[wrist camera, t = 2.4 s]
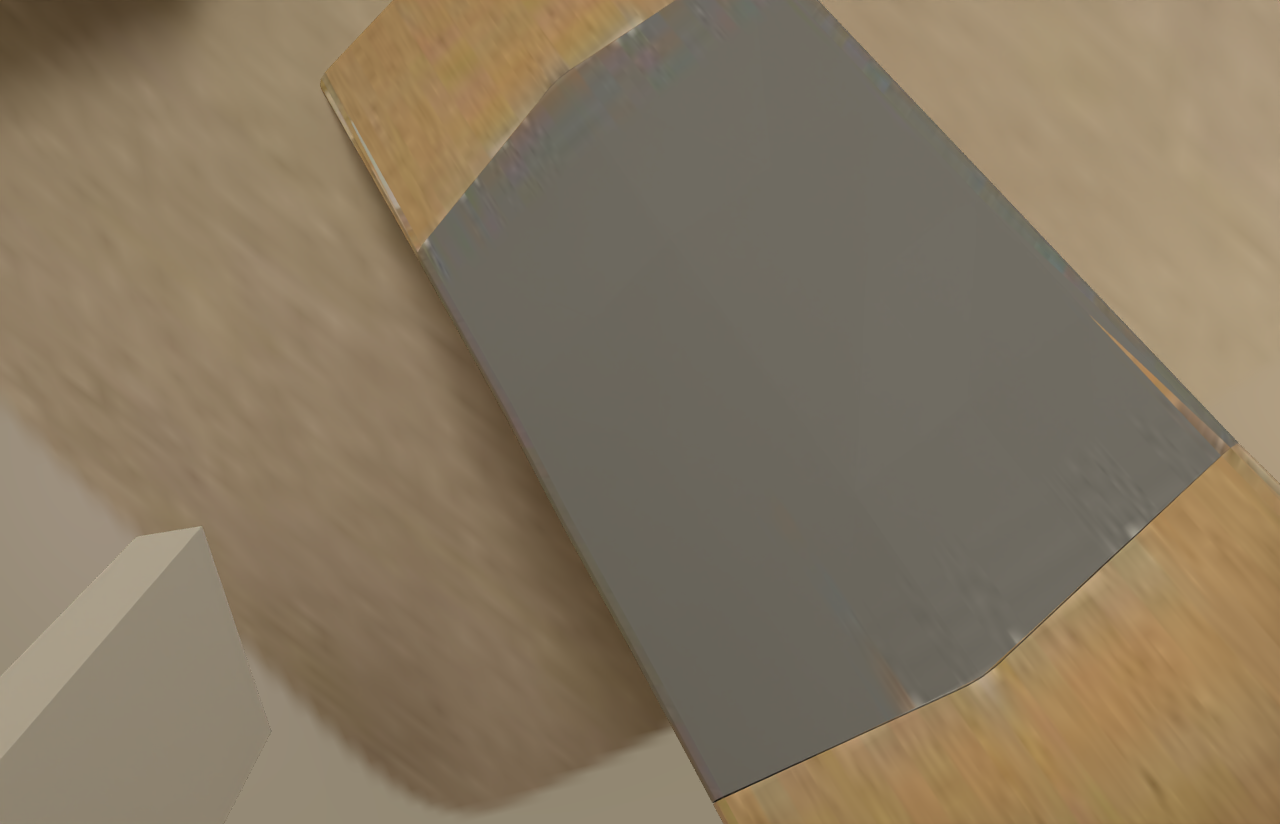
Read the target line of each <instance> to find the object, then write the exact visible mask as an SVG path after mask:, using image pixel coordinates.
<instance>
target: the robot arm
mask: <svg viewBox="0 0 1280 824" xmlns="http://www.w3.org/2000/svg"><path fill="white" fill-rule="evenodd" d="M270 733H271V729H270V726H269V723H268V720H267V717H266V714H265V711H264V709H263V705H262V703H261V699H260V697H259V693H258V690H257V687H256V685H255V682H254V679H253V676H252V673H251V670H250V667H249V664H248V661H247V658H246V655H245V652H244V649H243V646H242V643H241V640H240V637H239V634H238V631H237V628H236V625H235V622H234V619H233V616H232V613H231V610H230V607H229V604H228V601H227V598H226V595H225V593H224V590H223V587H222V584H221V581H220V578H219V575H218V572H217V569H216V566H215V563H214V560H213V557H212V554H211V551H210V548H209V545H208V542H207V539H206V536H205V533H204V530H203V527H202V526H199V527H193V528H187V529H181V530H175V531H169V532H163V533H157V534H151V535H144V536H138V537H136V538H135V539H134V540H133V541H132V542H131V543H130V544H129V545H128V546H127V547H126V548H125V549H124V550H123V551H122V552H121V553H120V554H119V556H117V557H116V558H115V559H114V560H113V561H112V562H111V563H110V565H108V567H106V569H105V570H104V571H103V572H102V573H101V574H100V575H99V576H98V577H97V578H96V579H95V580H94V581H93V582H92V583H91V584H90V585H89V586H88V587H87V588H86V589H85V590H84V591H83V592H82V593H81V594H80V595H79V596H78V597H77V598H76V599H75V600H74V601H73V602H72V603H71V604H70V605H69V606H68V607H67V608H66V610H65V611H64V612H63V613H62V614H61V615H60V616H59V617H58V618H57V619H56V620H55V621H54V622H53V623H52V624H51V625H50V626H49V627H48V628H47V629H46V630H45V631H44V632H43V633H42V634H41V635H40V636H39V637H38V638H37V639H36V640H35V641H34V642H33V643H32V644H31V645H30V647H29V648H27V650H26V651H25V652H24V653H23V654H22V655H21V656H20V657H19V658H18V659H17V660H16V661H15V662H14V663H13V664H12V665H11V666H10V667H9V668H8V669H7V670H6V671H5V672H4V673H3V674H2V675H1V676H0V824H224V822H225V820H226V819H227V817H228V815H229V813H230V811H231V809H232V807H233V805H234V803H235V801H236V799H237V797H238V795H239V793H240V791H241V789H242V787H243V786H244V784H245V782H246V780H247V778H248V776H249V774H250V772H251V770H252V768H253V766H254V764H255V762H256V760H257V758H258V756H259V754H260V753H261V751H262V748H263V747H264V745H265V743H266V741H267V739H268V737H269V735H270Z"/></svg>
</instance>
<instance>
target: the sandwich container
mask: <svg viewBox="0 0 1280 824" xmlns="http://www.w3.org/2000/svg"><path fill="white" fill-rule="evenodd" d="M320 86H321V89H322V91H323V92H324V94H325V96H326V98H327V99H328V101H329V103H330V105H331V106H332V108H333V110H334V112H335V113H336V115H337V117H338V119H339V120H340V122H341V124H342V126H343V127H344V129H345V131H346V133H347V134H348V136H349V138H350V139H351V141H352V143H353V145H354V146H355V148H356V150H357V152H358V153H359V155H360V157H361V159H362V160H363V162H364V164H365V166H366V167H367V169H368V171H369V173H370V174H371V176H372V178H373V180H374V182H375V183H376V185H377V187H378V189H379V190H380V192H381V194H382V196H383V198H384V199H385V201H386V203H387V205H388V206H389V208H390V210H391V212H392V214H393V215H394V217H395V219H396V221H397V223H398V224H399V226H400V228H401V230H402V231H403V233H404V235H405V237H406V239H407V240H408V242H409V244H410V246H411V247H412V249H413V251H414V253H415V255H416V256H417V258H418V260H419V262H420V264H421V265H422V267H423V269H424V271H425V273H426V274H427V276H428V278H429V280H430V282H431V283H432V285H433V287H434V289H435V291H436V292H437V294H438V296H439V298H440V300H441V301H442V303H443V305H444V307H445V308H446V310H447V312H448V314H449V316H450V317H451V319H452V321H453V323H454V325H455V326H456V328H457V330H458V332H459V334H460V335H461V337H462V339H463V341H464V343H465V344H466V346H467V348H468V350H469V352H470V353H471V355H472V357H473V359H474V361H475V362H476V364H477V366H478V368H479V370H480V371H481V373H482V375H483V377H484V379H485V380H486V382H487V384H488V386H489V388H490V389H491V391H492V393H493V395H494V397H495V398H496V400H497V402H498V404H499V406H500V407H501V409H502V411H503V413H504V415H505V416H506V418H507V420H508V422H509V424H510V426H511V428H512V430H513V432H514V434H515V436H516V438H517V439H518V441H519V443H520V445H521V447H522V449H523V451H524V453H525V455H526V457H527V459H528V460H529V462H530V464H531V466H532V468H533V470H534V472H535V474H536V476H537V478H538V480H539V482H540V483H541V485H542V487H543V489H544V491H545V493H546V495H547V497H548V499H549V501H550V503H551V504H552V506H553V508H554V510H555V512H556V514H557V516H558V518H559V520H560V522H561V524H562V526H563V527H564V529H565V531H566V533H567V535H568V537H569V538H570V540H571V542H572V544H573V546H574V547H575V549H576V551H577V553H578V555H579V557H580V558H581V560H582V562H583V564H584V566H585V568H586V569H587V571H588V573H589V575H590V577H591V578H592V580H593V582H594V584H595V586H596V588H597V589H598V591H599V593H600V595H601V597H602V599H603V600H604V602H605V604H606V606H607V608H608V610H609V611H610V613H611V615H612V617H613V619H614V620H615V622H616V624H617V626H618V628H619V630H620V631H621V633H622V635H623V637H624V639H625V641H626V642H627V644H628V646H629V648H630V650H631V652H632V653H633V655H634V657H635V659H636V661H637V663H638V665H639V666H640V668H641V670H642V672H643V674H644V676H645V678H646V680H647V681H648V683H649V685H650V687H651V689H652V691H653V693H654V695H655V696H656V698H657V700H658V702H659V704H660V706H661V708H662V709H663V711H664V713H665V715H666V717H667V719H668V721H669V723H670V724H671V726H672V728H673V730H674V732H675V734H676V736H677V737H678V739H679V741H680V743H681V745H682V747H683V748H684V751H685V752H686V754H687V756H688V758H689V760H690V762H691V763H692V765H693V767H694V769H695V771H696V773H697V775H698V776H699V778H700V780H701V782H702V784H703V786H704V788H705V790H706V792H707V793H708V795H709V797H710V799H711V801H712V802H713V803H714V802H716V803H714V807H715V809H716V811H717V812H718V814H719V816H720V818H721V820H722V822H723V823H724V824H1280V483H1279V482H1278V481H1277V480H1276V479H1275V478H1274V477H1273V476H1272V475H1271V474H1270V473H1269V472H1267V470H1266V469H1264V467H1263V466H1262V465H1260V464H1259V463H1258V462H1257V461H1256V460H1255V459H1254V458H1253V457H1252V456H1251V455H1250V454H1249V453H1248V452H1247V451H1246V450H1245V449H1244V448H1243V447H1242V446H1241V445H1240V444H1239V443H1238V442H1237V441H1236V440H1235V439H1234V438H1233V437H1232V436H1231V435H1230V433H1229V432H1228V431H1226V429H1225V428H1224V427H1223V426H1222V425H1221V424H1220V423H1219V422H1218V421H1217V420H1216V419H1215V418H1214V417H1213V416H1212V415H1211V414H1210V412H1209V411H1208V410H1207V409H1206V408H1205V407H1204V406H1203V405H1202V404H1201V403H1200V402H1199V401H1198V400H1197V399H1196V398H1195V397H1194V396H1193V395H1192V394H1191V393H1190V391H1189V390H1188V389H1187V388H1186V387H1185V386H1184V385H1183V384H1182V383H1181V382H1180V381H1179V380H1178V379H1177V378H1176V377H1175V376H1174V375H1173V374H1172V373H1171V372H1170V370H1169V369H1168V368H1167V367H1166V366H1165V365H1164V364H1163V363H1162V362H1161V361H1160V360H1159V359H1158V358H1157V357H1156V356H1155V355H1154V354H1153V353H1152V352H1151V351H1150V349H1149V348H1148V347H1147V346H1146V345H1145V344H1144V343H1143V342H1142V341H1141V340H1140V339H1139V338H1138V337H1137V336H1136V335H1135V334H1134V333H1133V332H1132V331H1131V330H1130V329H1129V327H1128V326H1127V325H1126V324H1125V323H1124V322H1123V321H1122V320H1121V319H1120V318H1119V317H1118V316H1117V315H1116V314H1115V313H1114V312H1113V311H1112V310H1111V309H1110V308H1109V306H1108V305H1107V304H1106V303H1105V302H1104V301H1103V300H1102V299H1101V298H1100V297H1099V296H1098V295H1097V294H1096V293H1095V292H1094V291H1093V290H1092V289H1091V287H1090V286H1089V285H1088V284H1087V283H1086V282H1085V281H1084V280H1083V279H1082V278H1081V277H1080V276H1079V275H1078V274H1077V273H1076V272H1075V271H1074V270H1073V268H1072V267H1071V266H1070V265H1069V264H1068V263H1067V262H1066V261H1065V260H1064V259H1063V258H1062V257H1061V256H1060V255H1059V254H1058V253H1057V252H1056V250H1055V249H1054V248H1053V247H1052V246H1051V245H1050V244H1049V243H1048V242H1047V241H1046V240H1045V239H1044V238H1043V237H1042V236H1041V235H1040V234H1039V233H1038V231H1037V230H1036V229H1035V228H1034V227H1033V226H1032V225H1031V224H1030V223H1029V222H1028V221H1027V220H1026V219H1025V218H1024V217H1023V216H1022V215H1021V214H1020V212H1019V211H1018V210H1017V209H1016V208H1015V207H1014V206H1013V205H1012V204H1011V203H1010V202H1009V201H1008V200H1007V199H1006V198H1005V197H1004V196H1003V195H1002V193H1001V192H1000V191H999V190H998V189H997V188H996V187H995V186H994V185H993V184H992V183H991V182H990V181H989V180H988V179H987V178H986V177H985V176H984V175H983V173H982V172H981V171H980V170H979V169H978V168H977V167H976V166H975V165H974V164H973V163H972V162H971V161H970V160H969V159H968V158H967V157H966V156H965V155H964V153H963V152H962V151H961V150H960V149H959V148H958V147H957V146H956V145H955V144H954V143H953V142H952V141H951V140H950V139H949V138H948V137H947V136H946V135H945V133H944V132H943V131H942V130H941V129H940V128H939V127H938V126H937V125H936V124H935V123H934V122H933V121H932V120H931V119H930V118H929V117H928V116H927V115H926V113H925V112H924V111H923V110H922V109H921V108H920V107H919V106H918V105H917V104H916V103H915V102H914V101H913V100H912V99H911V98H910V97H909V96H908V95H907V93H906V92H905V91H904V90H903V89H902V88H901V87H900V86H899V85H898V84H897V83H896V82H895V81H894V80H893V79H892V78H891V77H890V76H889V75H888V73H887V72H886V71H885V70H884V69H883V68H882V67H881V66H880V65H879V64H878V63H877V62H876V61H875V60H874V59H873V58H872V57H871V56H870V54H869V53H868V52H867V51H866V50H865V49H864V48H863V47H862V46H861V45H860V44H859V43H858V42H857V41H856V40H855V39H854V38H853V37H852V36H851V34H850V33H849V32H848V31H847V30H846V29H845V28H844V27H843V26H842V25H841V24H840V23H839V22H838V21H837V20H836V19H835V18H834V17H833V15H832V14H831V13H830V12H829V11H828V10H827V9H826V8H825V7H824V6H823V5H822V4H821V3H820V2H819V1H818V0H393V1H392V2H391V3H390V4H389V5H388V6H387V7H386V8H385V9H384V11H383V12H382V13H381V14H380V15H379V16H378V17H377V18H376V19H375V20H374V21H373V22H372V23H371V24H370V25H369V26H368V27H367V28H366V29H365V31H364V32H363V33H362V34H361V35H360V36H359V37H358V38H357V39H356V40H355V41H354V42H353V43H352V44H351V45H350V46H349V47H348V48H347V50H346V51H345V52H344V53H343V54H342V55H341V56H340V57H339V58H338V59H337V60H336V61H335V62H334V63H333V64H332V65H331V66H330V67H329V69H328V70H327V71H326V72H325V74H324V75H323V77H322V79H321V83H320Z"/></svg>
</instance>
